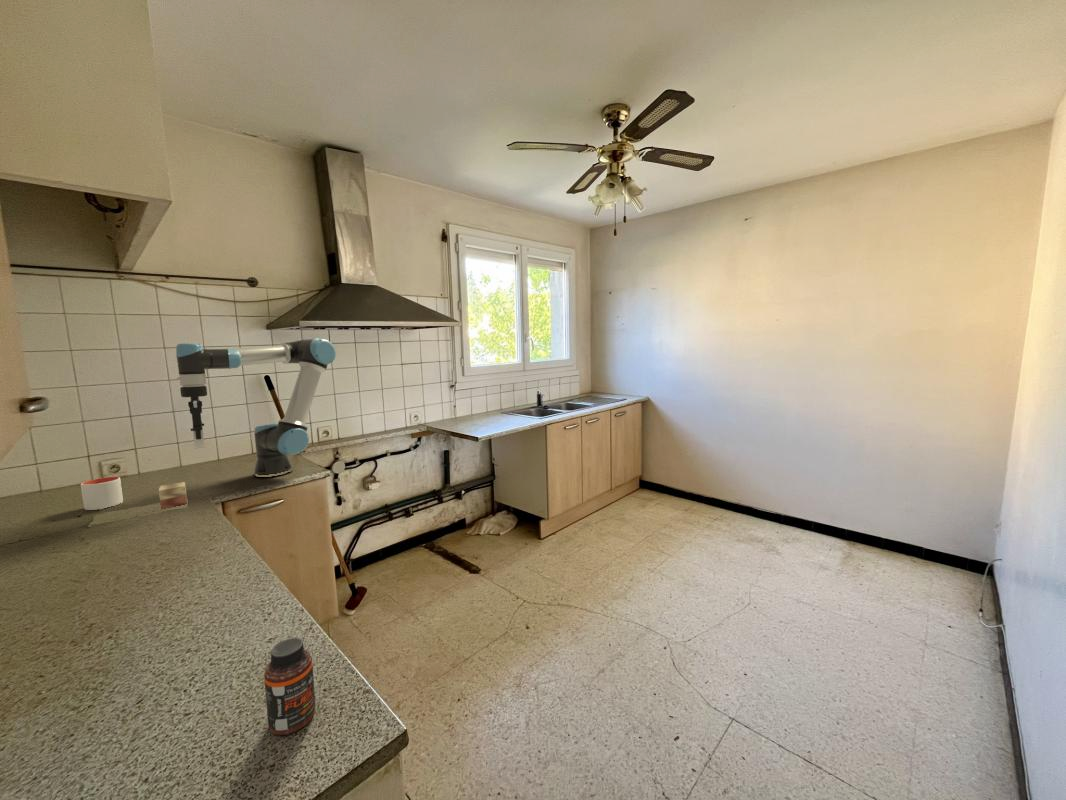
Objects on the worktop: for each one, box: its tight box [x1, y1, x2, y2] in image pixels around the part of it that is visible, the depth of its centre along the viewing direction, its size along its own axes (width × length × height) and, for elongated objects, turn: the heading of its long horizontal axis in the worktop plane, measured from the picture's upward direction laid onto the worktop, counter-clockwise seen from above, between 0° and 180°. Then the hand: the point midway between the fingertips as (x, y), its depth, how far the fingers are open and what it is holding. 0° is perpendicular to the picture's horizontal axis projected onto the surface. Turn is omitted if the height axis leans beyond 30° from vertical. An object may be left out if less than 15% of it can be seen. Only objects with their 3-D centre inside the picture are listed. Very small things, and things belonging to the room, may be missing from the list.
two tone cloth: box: [158, 481, 188, 509], centre depth 151 cm, size 7×7×7 cm
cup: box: [80, 476, 124, 511], centre depth 152 cm, size 10×10×10 cm
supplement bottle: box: [263, 637, 316, 736], centre depth 60 cm, size 6×6×11 cm
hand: (199, 445), depth 155 cm, fingers open, 10 cm apart
